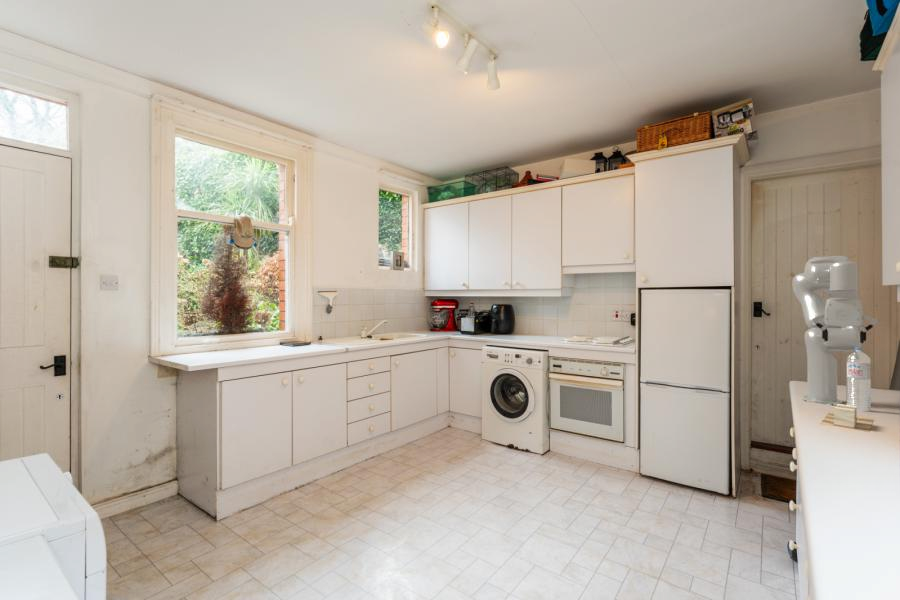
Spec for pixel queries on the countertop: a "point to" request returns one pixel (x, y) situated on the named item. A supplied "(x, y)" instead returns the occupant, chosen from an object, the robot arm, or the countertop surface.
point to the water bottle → (858, 380)
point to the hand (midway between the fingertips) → (843, 341)
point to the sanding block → (845, 415)
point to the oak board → (861, 425)
